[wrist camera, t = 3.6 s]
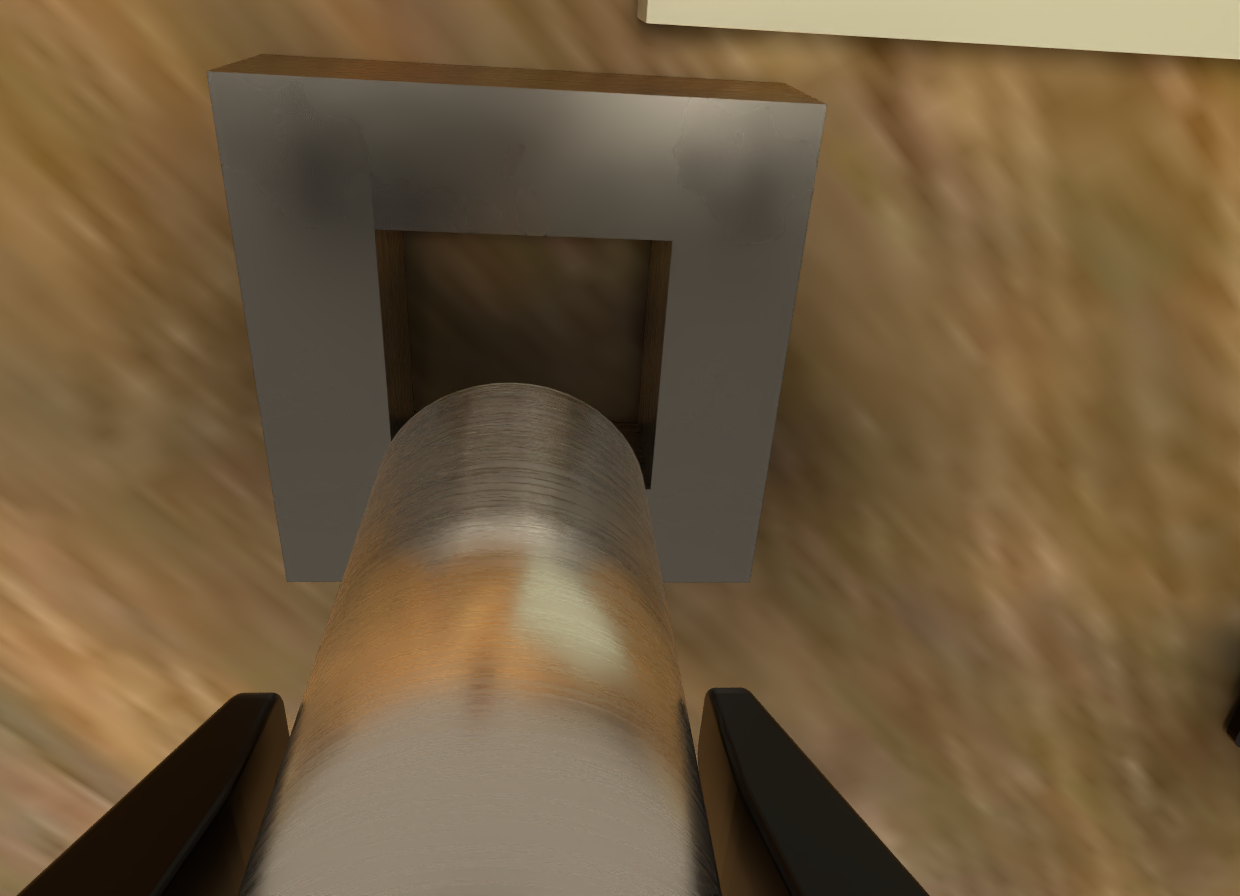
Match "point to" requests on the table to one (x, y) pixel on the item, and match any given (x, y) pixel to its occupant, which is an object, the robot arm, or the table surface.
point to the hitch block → (514, 205)
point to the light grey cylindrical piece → (494, 677)
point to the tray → (983, 21)
